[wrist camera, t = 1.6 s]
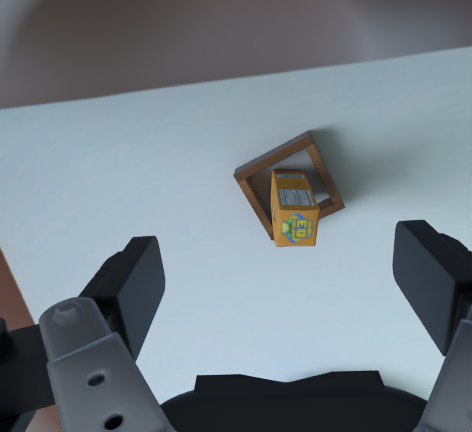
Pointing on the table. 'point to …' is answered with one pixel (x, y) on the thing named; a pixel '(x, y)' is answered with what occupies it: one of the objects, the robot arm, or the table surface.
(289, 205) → the supplement box
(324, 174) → the wooden frame
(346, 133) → the table surface
